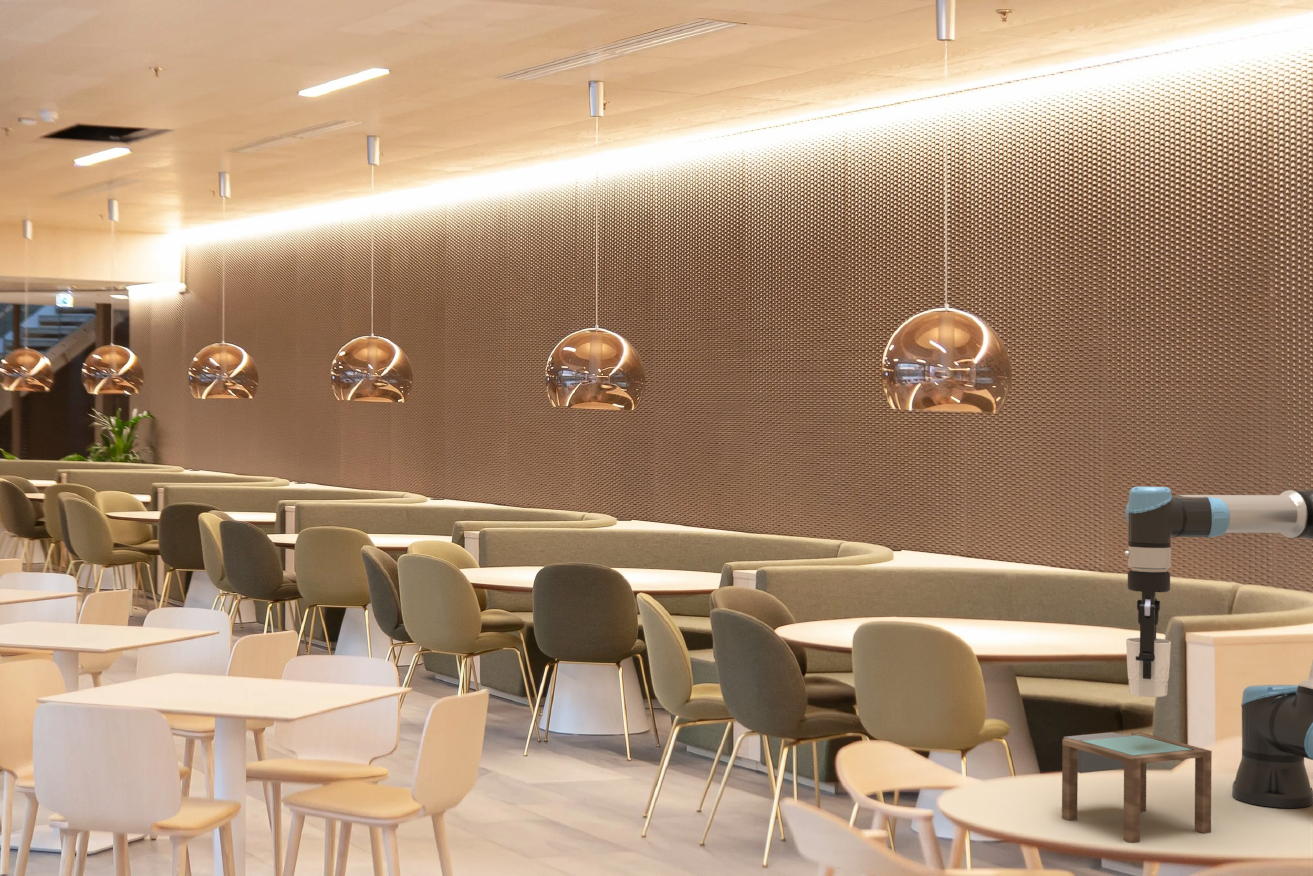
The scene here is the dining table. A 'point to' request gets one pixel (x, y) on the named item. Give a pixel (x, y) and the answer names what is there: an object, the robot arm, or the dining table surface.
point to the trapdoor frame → (1138, 781)
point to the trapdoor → (1118, 750)
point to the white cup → (1161, 665)
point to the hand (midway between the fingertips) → (1147, 692)
